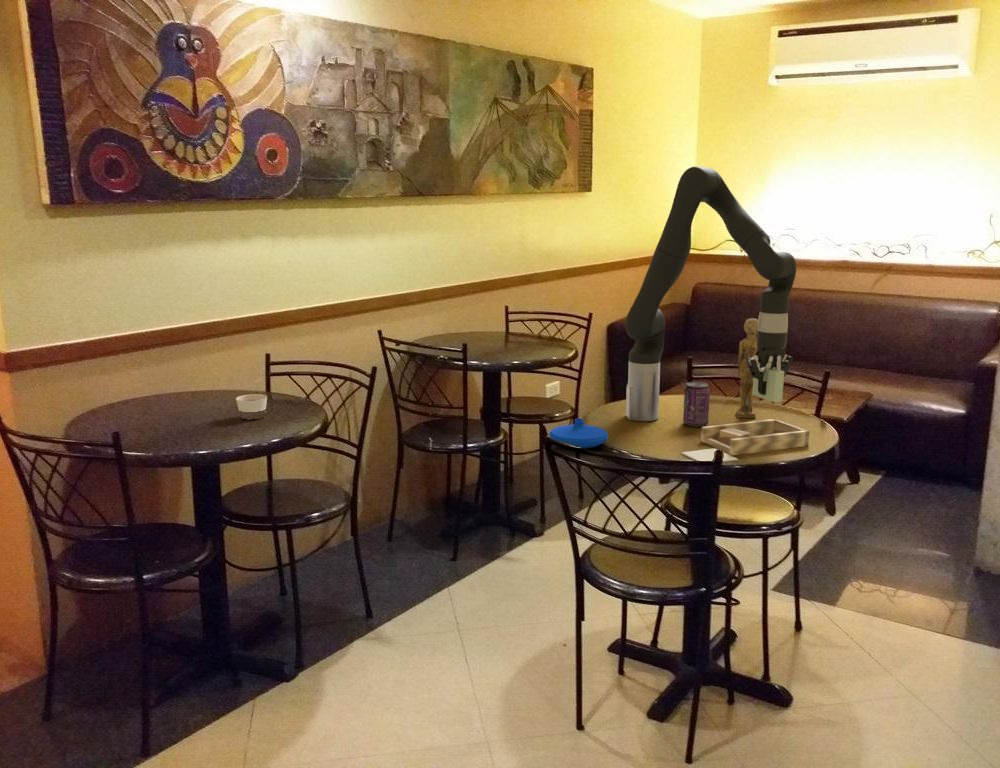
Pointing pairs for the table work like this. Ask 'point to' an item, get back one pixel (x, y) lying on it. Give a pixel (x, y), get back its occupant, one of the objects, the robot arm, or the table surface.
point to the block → (771, 386)
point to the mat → (707, 455)
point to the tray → (757, 436)
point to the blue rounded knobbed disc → (579, 434)
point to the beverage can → (696, 404)
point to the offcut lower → (724, 441)
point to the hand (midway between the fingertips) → (767, 393)
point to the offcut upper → (733, 434)
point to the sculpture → (747, 368)
